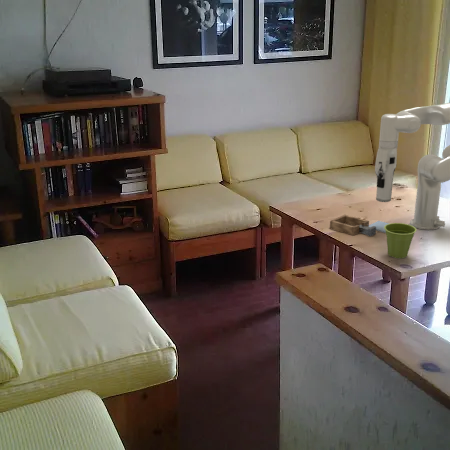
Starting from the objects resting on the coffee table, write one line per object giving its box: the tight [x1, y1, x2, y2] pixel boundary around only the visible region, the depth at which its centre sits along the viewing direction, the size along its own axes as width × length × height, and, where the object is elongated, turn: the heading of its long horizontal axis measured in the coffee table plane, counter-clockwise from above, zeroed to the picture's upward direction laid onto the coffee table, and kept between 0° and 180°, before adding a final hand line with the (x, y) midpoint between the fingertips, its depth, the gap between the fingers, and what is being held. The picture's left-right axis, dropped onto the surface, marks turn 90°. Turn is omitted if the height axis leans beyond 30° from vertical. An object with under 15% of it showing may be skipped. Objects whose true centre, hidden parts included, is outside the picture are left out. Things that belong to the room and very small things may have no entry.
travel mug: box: [375, 157, 395, 203], centre depth 237 cm, size 6×7×20 cm
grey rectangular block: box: [358, 225, 377, 237], centre depth 238 cm, size 7×4×3 cm, turn 45°
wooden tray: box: [329, 214, 370, 236], centre depth 244 cm, size 12×11×4 cm
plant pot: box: [384, 222, 417, 259], centre depth 214 cm, size 12×12×11 cm
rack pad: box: [369, 220, 390, 234], centre depth 245 cm, size 10×10×1 cm
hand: (384, 185), depth 238 cm, fingers closed on travel mug, 6 cm apart
